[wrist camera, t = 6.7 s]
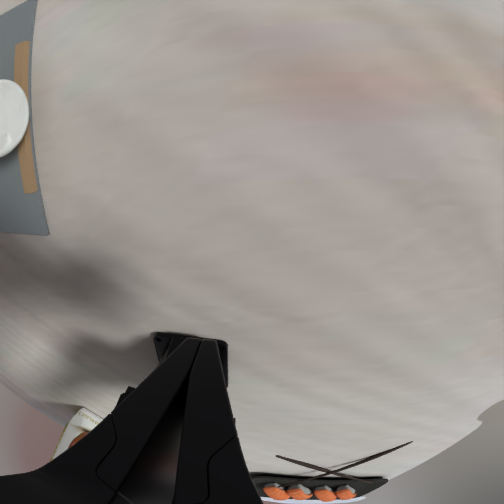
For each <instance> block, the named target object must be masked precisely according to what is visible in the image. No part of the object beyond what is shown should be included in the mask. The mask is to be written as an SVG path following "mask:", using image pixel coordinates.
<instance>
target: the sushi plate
mask: <svg viewBox="0 0 504 504" xmlns="http://www.w3.org/2000/svg"><path fill="white" fill-rule="evenodd" d="M412 442H413V441H411V442H408V443H406V444H403V445H401V446H398V447H395V448H393V449H390V450H387V451H384V452H381V453H378V454H376V455H374V456H371V457H369V458H366V459H364V460H361V461H359V462H356V463H354V464H351V465H348V466H346V467H343V468H340V469H337V470H334V471H329V470H326V469H323V468H320V467H317V466H314V465H311V464H308V463H304V462H301V461H297V460H293V459H289V458H286V457H282V456H279V455H276V457H278V458H281V459H284V460H287V461H290V462H293V463H296V464H299V465H302V466H305V467H308V468H312V469H315V470H319V471H322V472H326V473H325V474H322V475H318V476H315V477H312V478H308V479H296V478H283V477H271V476H253V477H251V478H252V481H253V483H254V485H255V487H256V489H257V491H258V494H259V496H260V497H270V498H273V499H275V500H286V499H296V500H304V499H305V500H321V501H324V502H327V501H333V500H336V499H342V500H347V499H351V498H356V497H360V496H362V495H365V494H367V493H369V492H371V491H373V490H375V489H377V488H379V487H380V486H382V485H384V484H386V483H387V482H388V479H358V478H354V477H350V476H346V475H343V474H339V473H336V472H339V471H342V470H345V469H348V468H351V467H354V466H357V465H359V464H362V463H365V462H368V461H370V460H373V459H375V458H378V457H380V456H383V455H385V454H388V453H390V452H392V451H394V450H397V449H399V448H401V447H403V446H406V445H408V444H410V443H412ZM329 474H334V475H337V476H341V477H345V478H349V479H353V480H315V479H316V478H319V477H323V476H326V475H329Z"/></svg>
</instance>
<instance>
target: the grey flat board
mask: <svg viewBox="0 0 504 504" xmlns="http://www.w3.org/2000/svg"><path fill="white" fill-rule="evenodd" d="M36 5H37V0H28V1H26V2H24V3H22V4H20V5H18V6H16V7H15V8H13V9H11V10H9V11H8V12H6V13H4V14H3V15H1V16H0V80H1V79H6V80H11V81H13V82H15V83H17V84H18V85H19V86H20V87H21V88H22V89H23V91H24V93H25V95H26V97H27V100H28V105H29V121H28V126H27V129H26V132H25V134H24V136H23V138H22V140H21V141H20V143H19V144H18V145H17V146H16V147H15V148H14V149H13V150H12V151H11V152H10V153H8V154H7V155H5V156H3V157H0V232H5V233H18V234H30V235H43V236H48V235H49V230H48V226H47V221H46V217H45V212H44V207H43V202H42V197H41V191H40V185H39V179H38V173H37V166H36V158H35V149H34V140H33V128H32V112H31V56H32V40H33V29H34V20H35V12H36Z"/></svg>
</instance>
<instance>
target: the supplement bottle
mask: <svg viewBox="0 0 504 504" xmlns="http://www.w3.org/2000/svg"><path fill="white" fill-rule="evenodd" d="M28 121H29V105H28V100H27V97H26V95H25V93H24V91H23V89H22V88H21V87H20V86H19V85H18V84H17V83H15V82H13V81H11V80H6V79H1V80H0V157H3V156H5V155H7V154H8V153H10V152H11V151H12V150H13V149H14V148H15V147H16V146H17V145H18V144H19V143H20V141H21V140H22V138H23V136H24V134H25V132H26V129H27V126H28Z"/></svg>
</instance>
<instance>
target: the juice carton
mask: <svg viewBox="0 0 504 504" xmlns="http://www.w3.org/2000/svg"><path fill="white" fill-rule="evenodd" d="M102 420H103V419H102V418H101V417H99V416H97V415H96V414H94V413H93V412H91V411H89V410H88V409H86V408H84V407H83V408H81V409H80V410H79V411H78V412H77V413H76V414H75V415H74V416H73V417H72V418H71V419H70V421H69V422H68V423H67V425H66V426H65V429H64V431H63V433H62V435H61V437H60V439H59V442H58V444H57V446H56V448H55V451H54V453H53V456H52V458H51V460H50V461H52V460H53V459H54V458H56V457H57V456H59V455H60V454H61V453H63V452H64V451H65V450H67V449H68V448H70V447H71V446H72V445H74V444H75V443H76V442H78V441H79V440H80V439H81V438H83V437H84V436H85V435H87V434H88V433H89V432H90V431H91V430H92V429H94V428H95V427H96V426H97V425H98V424H99V423H100V422H101V421H102Z"/></svg>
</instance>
